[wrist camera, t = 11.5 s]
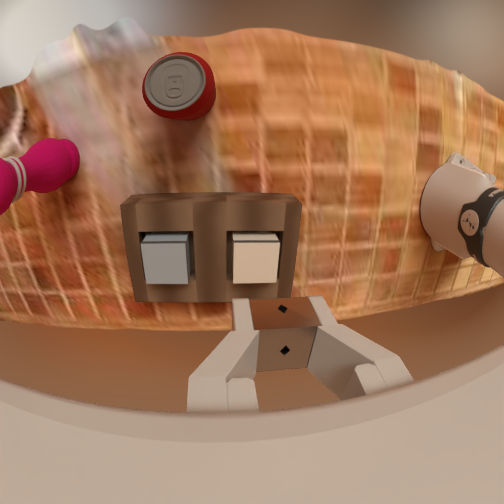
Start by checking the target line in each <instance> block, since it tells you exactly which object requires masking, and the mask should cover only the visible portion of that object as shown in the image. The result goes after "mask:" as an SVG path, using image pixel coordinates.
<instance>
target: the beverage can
mask: <svg viewBox="0 0 504 504" xmlns="http://www.w3.org/2000/svg"><path fill="white" fill-rule="evenodd" d="M142 93H143V98H144V100H145V102H146V104H147V106H148V107H149V108H150V109H151V110H152V111H153V112H154V113H156V114H157V115H159V116H162V117H165V118H169V119H175V120H185V121H189V120H195V119H198V118H200V117H202V116H204V115H205V114H206V113H207V112H208V111H209V110H210V109H211V108H212V106H213V104H214V101H215V97H216V88H215V81H214V76H213V73H212V70H211V68H210V66H209V65H208V64H207V62H206V61H205V60H203V59H202V58H201V57H199V56H197V55H195V54H192V53H187V52H177V53H172V54H169V55H166V56H164V57H162V58H160V59H159V60H157V61H156V62H155V63H154V64H153V65H152V66H151V67H150V68H149V70H148V71H147V73H146V75H145V77H144V80H143V85H142Z"/></svg>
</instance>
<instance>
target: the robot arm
mask: <svg viewBox="0 0 504 504" xmlns="http://www.w3.org/2000/svg"><path fill="white" fill-rule="evenodd" d="M495 182H496V177H495V176H494V175H492V174H489V173H486V172H483V171H482V170H480V169H479V168H478V167H477V166H475V165H474V164H473V163H471V162H470V161H469V160H467V159H466V158H464V157H463V156H462V155H460V154H458V153H456V152H454V153H452V155H451V156H450V157H449V159H448V161H447V162H446V163H445V164H444V165H443V166H441V167H440V168H438V169H437V170H436V171H435V172H434V173H433V174H432V176H431V177H430V179H429V180H428V182H427V184H426V186H425V189H424V192H423V195H422V200H421V220H422V224H423V227H424V229H425V231H426V232H427V233H428V235H429V236H430V238H431V242H432V247H433V249H434V250H436V251H442V250H445V249H447V250H448V251H450V252H452V253H453V254H455V255H457V256H458V257H460V258H461V259H465V258H469V257H473V258H474V259H475V260H476V261H477V262H478V263H480V264H482V265H484V266H486V267H491V268H492V269H493V270H495V271H496V272H497V273H499V274H500V275H501V276H502V277H503V278H504V190H500V189H499V188H498V187H497V186H496V185H495ZM299 368H307V370H309V371H310V372H311V373H312V374H313V375H314V376H315V377H316V378H317V379H318V380H320V381H321V382H322V383H323V384H324V385H325V386H326V387H327V388H328V389H330V390H331V391H332V392H333V393H334V394H335V395H336V396H337V397H339V398H340V401H335V402H330V403H324V404H318V405H311V406H305V407H297V408H289V409H281V410H271V411H259V408H258V402H257V396H256V390H255V384H254V381H253V378H254V376H255V374H256V372H263V371H273V370H285V369H299ZM0 504H504V345H502V346H500V347H498V348H496V349H494V350H492V351H490V352H488V353H486V354H483V355H481V356H479V357H477V358H475V359H473V360H470V361H468V362H466V363H463V364H461V365H458V366H456V367H453V368H451V369H448V370H446V371H443V372H441V373H438V374H435V375H432V376H430V377H427V378H424V379H421V380H418V381H414V380H413V378H412V376H411V375H410V373H409V372H408V370H407V369H406V367H405V365H404V364H403V362H402V361H401V359H400V358H399V356H398V355H396V354H394V353H392V352H390V351H389V350H387V349H385V348H383V347H382V346H380V345H378V344H376V343H374V342H373V341H371V340H369V339H367V338H366V337H364V336H362V335H360V334H358V333H357V332H355V331H353V330H352V329H350V328H348V327H346V326H344V325H343V324H337V321H336V320H335V318H334V316H333V314H332V312H331V311H330V309H329V307H328V305H327V303H326V302H325V300H324V298H323V296H321V295H317V296H306V297H293V298H232V331H230V332H229V334H227V336H226V337H225V338H224V339H223V340H222V341H221V342H220V344H219V345H218V346H217V347H216V348H215V349H214V350H213V351H212V352H211V354H210V355H209V356H208V357H207V358H206V359H205V360H204V361H203V362H202V364H201V365H200V366H199V367H198V368H197V369H196V370H195V371H194V372H193V373H192V375H191V376H190V377H189V385H188V402H187V413H178V412H160V411H148V410H138V409H129V408H122V407H114V406H108V405H101V404H96V403H90V402H85V401H80V400H75V399H71V398H66V397H62V396H58V395H54V394H50V393H46V392H43V391H39V390H36V389H32V388H29V387H26V386H23V385H20V384H17V383H14V382H11V381H8V380H5V379H3V378H0Z"/></svg>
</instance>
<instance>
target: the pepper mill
mask: <svg viewBox="0 0 504 504" xmlns="http://www.w3.org/2000/svg"><path fill="white" fill-rule="evenodd" d="M79 160H80V157H79V152H78V149H77V147H76V146H75V144H74V143H73V142H71V141H70V140H67V139H60V140H57V139H54V138H47V139H44V140H41V141H39V142H37V143H36V144H34V145H33V146H32V147H31V148H30V149H29V150H28V151H27V152H26V154H25V155H23V156H22V157H20V158H16V157H13V156H11V157H7V158H4V159H2V158H0V215H1V214H3V213H4V212H5V211H6V210H7V209H8V208H9V206H10V205H11V203H13V202H15V201H17V200H18V199H20V198H21V197H22V195H23V194H24V192H26V191H34V192H38V193H48V192H51V191H54V190H56V189H58V188H59V187H60V186H62V185H63V183H64V182H65V181H67V180H69V179H71V178H72V177H73V176H74V175H75V173H76V172H77V170H78V167H79Z"/></svg>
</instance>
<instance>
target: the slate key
mask: <svg viewBox="0 0 504 504" xmlns="http://www.w3.org/2000/svg"><path fill="white" fill-rule="evenodd" d="M141 251H142V258H143V265H144V272H145V278H146V284H188V283H189V276H190V270H191V249H190V231H150V232H148V233H147V235H146V236H145V238H144V240H143V241H142V242H141Z"/></svg>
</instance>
